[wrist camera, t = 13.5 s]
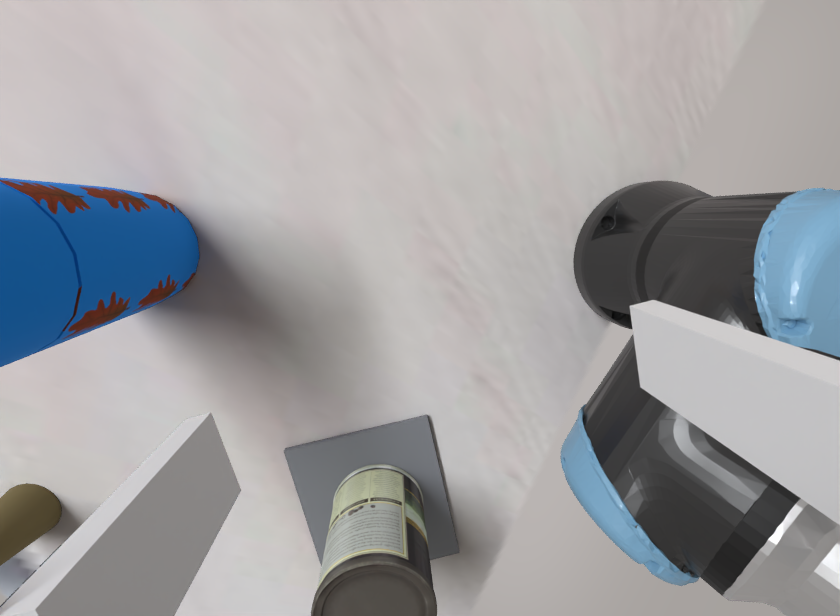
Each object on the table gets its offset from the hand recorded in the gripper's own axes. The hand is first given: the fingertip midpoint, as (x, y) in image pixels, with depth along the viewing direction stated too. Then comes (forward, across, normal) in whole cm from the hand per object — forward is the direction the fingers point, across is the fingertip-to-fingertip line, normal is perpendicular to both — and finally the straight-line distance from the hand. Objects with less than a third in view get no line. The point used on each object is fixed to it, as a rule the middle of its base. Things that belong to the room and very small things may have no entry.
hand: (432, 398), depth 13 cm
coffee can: (+31, +9, +25) cm, 41 cm away
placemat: (+32, +10, +25) cm, 42 cm away
